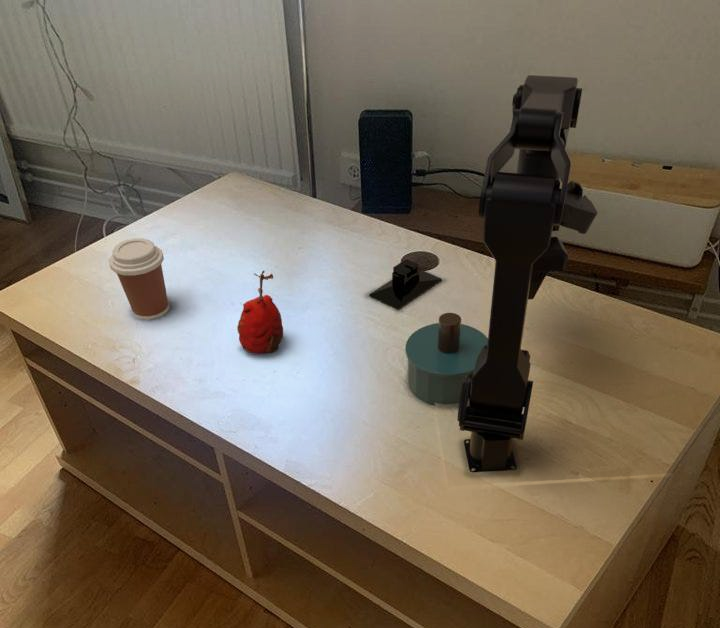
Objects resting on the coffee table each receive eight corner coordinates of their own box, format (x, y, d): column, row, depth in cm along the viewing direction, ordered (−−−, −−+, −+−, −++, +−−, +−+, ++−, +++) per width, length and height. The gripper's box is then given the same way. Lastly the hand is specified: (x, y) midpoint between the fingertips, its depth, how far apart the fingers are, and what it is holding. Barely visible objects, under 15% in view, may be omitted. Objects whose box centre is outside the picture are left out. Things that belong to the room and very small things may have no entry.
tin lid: (497, 378, 104) (502, 342, 100) (409, 383, 104) (409, 348, 100) (483, 326, 113) (487, 291, 108) (402, 331, 113) (402, 296, 108)
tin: (489, 404, 108) (493, 372, 104) (411, 408, 108) (412, 377, 104) (477, 356, 116) (481, 325, 112) (405, 360, 116) (405, 329, 112)
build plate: (398, 311, 126) (397, 287, 123) (367, 296, 130) (366, 273, 126) (442, 280, 132) (443, 257, 129) (411, 267, 136) (411, 244, 132)
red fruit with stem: (268, 327, 124) (255, 248, 113) (295, 344, 121) (284, 263, 110) (233, 347, 121) (216, 267, 110) (259, 365, 117) (245, 284, 106)
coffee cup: (140, 292, 134) (122, 232, 125) (185, 298, 132) (169, 237, 123) (116, 320, 128) (95, 259, 119) (162, 327, 126) (144, 265, 117)
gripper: (617, 208, 90) (593, 314, 102) (580, 146, 103) (562, 246, 114) (528, 213, 90) (514, 319, 102) (502, 151, 103) (492, 251, 114)
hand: (523, 281), depth 108 cm, fingers open, 9 cm apart
